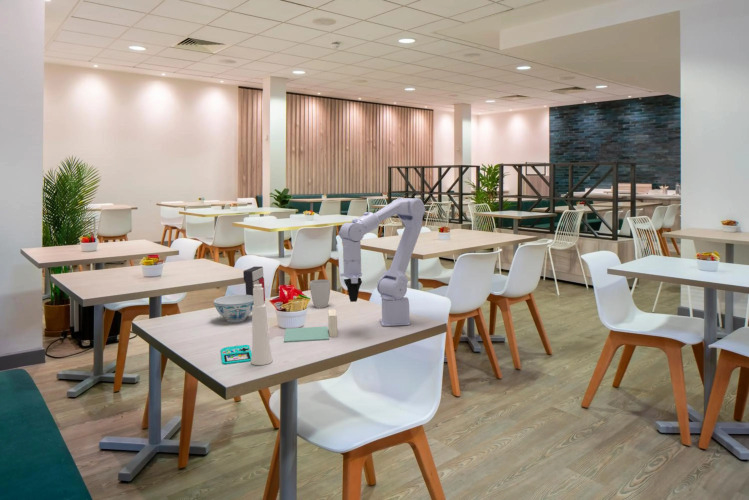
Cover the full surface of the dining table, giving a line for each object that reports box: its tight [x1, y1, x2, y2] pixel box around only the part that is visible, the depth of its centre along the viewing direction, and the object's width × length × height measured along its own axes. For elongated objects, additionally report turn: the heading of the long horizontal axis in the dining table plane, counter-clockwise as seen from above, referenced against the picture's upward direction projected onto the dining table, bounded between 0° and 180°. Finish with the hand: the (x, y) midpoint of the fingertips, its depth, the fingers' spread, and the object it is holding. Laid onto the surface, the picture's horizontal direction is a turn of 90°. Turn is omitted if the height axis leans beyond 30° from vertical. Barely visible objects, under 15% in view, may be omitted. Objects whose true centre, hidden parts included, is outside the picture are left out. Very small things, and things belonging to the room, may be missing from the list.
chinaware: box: [213, 294, 254, 323], centre depth 197 cm, size 15×15×8 cm
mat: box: [283, 325, 330, 343], centre depth 177 cm, size 14×14×1 cm
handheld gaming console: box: [220, 344, 252, 366], centre depth 158 cm, size 8×1×15 cm
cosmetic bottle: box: [250, 284, 274, 366], centre depth 150 cm, size 6×6×22 cm
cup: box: [309, 279, 331, 309], centre depth 214 cm, size 8×8×10 cm
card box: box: [327, 309, 338, 338], centre depth 178 cm, size 3×8×7 cm, turn 7°
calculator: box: [243, 266, 266, 303], centre depth 219 cm, size 11×4×15 cm, turn 168°
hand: (353, 301), depth 177 cm, fingers closed
